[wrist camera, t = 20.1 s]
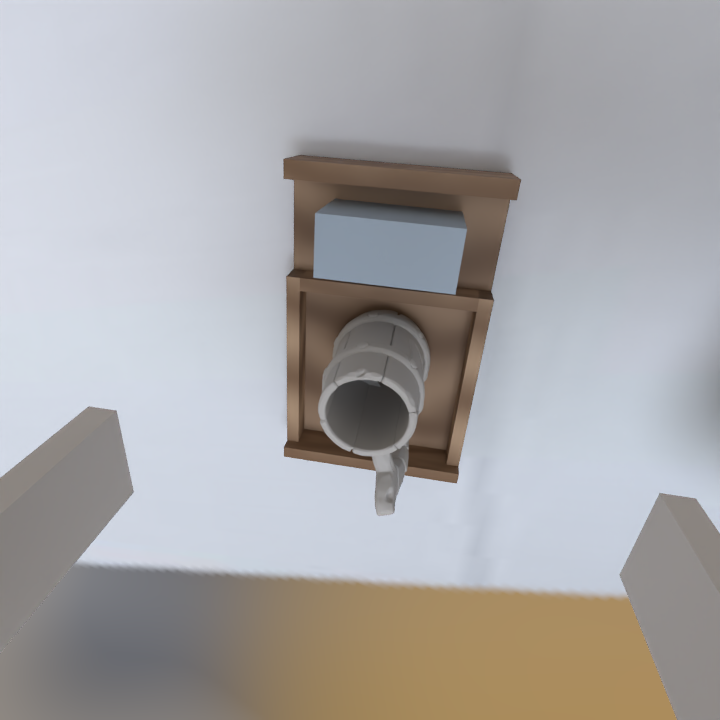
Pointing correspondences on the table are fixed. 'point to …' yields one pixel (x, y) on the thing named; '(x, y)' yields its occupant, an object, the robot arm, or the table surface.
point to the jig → (393, 302)
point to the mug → (376, 395)
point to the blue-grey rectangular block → (389, 245)
